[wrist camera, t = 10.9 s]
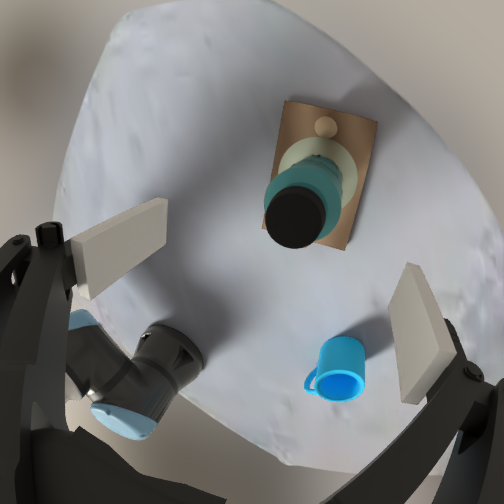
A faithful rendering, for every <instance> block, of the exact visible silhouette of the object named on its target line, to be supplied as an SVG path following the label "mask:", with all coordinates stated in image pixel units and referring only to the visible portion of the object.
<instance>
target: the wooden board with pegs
mask: <svg viewBox="0 0 504 504" xmlns="http://www.w3.org/2000/svg"><path fill="white" fill-rule="evenodd" d="M377 123H378V122H377V121H373V120H370V119H366V118H363V117H359V116H355V115H351V114H347V113H343V112H339V111H335V110H331V109H327V108H322V107H317V106H313V105H308V104H302V103H297V102H292V101H286V100H285V102H284V108H283V114H282V119H281V125H280V130H279V136H278V142H277V147H276V153H275V158H274V164H273V170H272V175H271V181H272V180H273V179H274V178H275V177H276V176H277V175H278V174H280V173H281V172H283V171H285V170H287V168H290V167H291V166H292V165H293V164H296V163H297V162H299V161H300V160H302V159H304V158H306V157H308V156H312V155H319V154H320V155H321V156H322V155H323V156H324V157H326V156H327V158H329V159H330V160H334V163H335V164H336V165H337V164H338V165H337V166H338V168H339V170H340V172H342V174H341V176H343V179H342V188H343V190H342V196H343V197H342V198H343V199H341V204H342V208H341V215H340V219H339V221H338V223H337V225H336V227H335V228H334V229H333V231H332V232H331V233H329V234H328V235H327V236H326V237H324V238H322V239H320V240H317V241H314V243H318V244H322V245H325V246H329V247H333V248H336V249H340V250H343V251H345V248H346V245H347V242H348V238H349V235H350V232H351V228H352V225H353V221H354V218H355V214H356V211H357V207H358V204H359V200H360V196H361V192H362V188H363V185H364V181H365V177H366V173H367V168H368V164H369V160H370V156H371V151H372V147H373V142H374V138H375V133H376V128H377ZM305 156H306V157H305ZM290 165H291V166H290ZM271 181H270V183H271ZM262 229H266V230H267V228H266V225H265V214H264V219H263V225H262ZM308 246H309V245H308ZM306 247H307V246H306ZM303 248H305V247H303Z"/></svg>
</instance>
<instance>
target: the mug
mask: <svg viewBox="0 0 504 504" xmlns="http://www.w3.org/2000/svg"><path fill="white" fill-rule="evenodd" d="M315 376H316V378H315V384H314V388H315V389H310V384H311V381H312V380H313V378H314V377H315ZM364 388H365V350H364V347H363V345H362V343H360V342H359V341H358V340H357V339H354V338H352V337H347V336H340V337H334V338H332V339H329V340H328V341H327V342H325V343H324V344H323V346H322V347H321V350H320V356H319V362H318V366H317V367H316V368H315V369H314V370H313V371H312V372H311V373H310V374H309V375H308V377H307V378H306V380H305V382H304V389H305V390H306V392H307V393H309V394H312V395H317V394H318V395H319V396H320V397H322V398H323V399H325V400H328V401H332V402H346V401H350V400H353V399H355V398H357V397H358V396H359V395H360V394H361V393H362V392H363V390H364Z"/></svg>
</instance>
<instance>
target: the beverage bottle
mask: <svg viewBox="0 0 504 504" xmlns="http://www.w3.org/2000/svg"><path fill="white" fill-rule="evenodd" d="M305 157H306V156H305ZM337 165H338V164H337ZM337 165H336V164H335V163H334V160H330V159H329V158H327V156H326V157H324V156H323V155H322V156H321V155H320V154H319V155H312V156H308V157H306V158H304V159H302V160H300V161H299V162H297V163H296V164H293V165H292V166H291V165H290V166H291V167H290V168H287V170H285V171H283V172H281V173H280V174H278V175H277V176H276V177H275V178H274V179H273V180H272V181H271V183H270V184H269V186H268V188H267V190H266V193H265V199H264V207H265V225H266V228H267V231H268V233H269V235H270V236H271V238H272V239H273V240H274V241H275V242H277V243H278V244H280V245H282V246H284V247H287V248H292V249H298V248H303V247H306V246H308V245H310V244H311V243H313V242H314V241H317V240H320V239H322V238H324V237H326V236H327V235H328V234H329V233H331V232H332V231H333V229H334V228H335V227H336V225H337V223H338V221H339V219H340V215H341V208H342V204H341V199H343V198H342V197H343V196H342V190H343V188H342V179H343V176H341V174H342V172H340V170H339V168H338V166H337Z"/></svg>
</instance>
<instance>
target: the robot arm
mask: <svg viewBox="0 0 504 504" xmlns="http://www.w3.org/2000/svg"><path fill="white" fill-rule="evenodd" d="M167 211H168V199H163V198H159V197H156V198H154V199H151V200H149V201H147V202H145V203H142V204H140V205H138V206H136V207H134V208H131V209H129V210H127V211H125V212H123V213H121V214H119V215H116V216H114V217H112V218H110V219H108V220H106V221H104V222H102V223H100V224H98V225H96V226H94V227H92V228H90V229H88V230H86V231H84V232H82V233H80V234H78V235H76V236H74V237H72V238H71V239H69V240H67V241H65V242H64V237H63V228H62V224H61V223H60V222H46V223H43V224H40V225H39V226H37V227H36V228H35V230H36V237H37V243H38V247H36V246H31V241H30V237H29V236H28V235H21V234H20V235H16V236H15V237H13V238H11V239H9V240H8V241H7V242H6V243H5V244H4V245H3V246H2V247H1V248H0V504H225V502H226V500H227V499H224V498H221V497H218V496H215V495H212V494H210V493H207V492H204V491H201V490H199V489H196V488H194V487H191V486H188V485H186V484H182V483H177V482H172V481H167V480H163V479H158V478H154V477H150V476H146V475H143V474H140V473H139V472H137V471H136V470H135V469H134V468H133V467H132V466H130V465H129V464H128V463H127V462H126V461H125V460H124V459H123V458H122V457H121V456H120V455H119V454H117V453H116V452H115V451H114V450H113V449H112V448H111V447H110V446H109V445H107V444H106V443H105V442H103V441H101V440H100V439H98V438H97V437H95V436H94V435H92V434H91V433H89V432H87V431H86V430H85V429H83V428H82V427H80V426H79V427H78V428H77V429H76V430H75V432H72V431H69V429H68V426H67V423H66V417H65V403H66V402H67V401H68V400H81V399H82V398H83V397H84V396H85V395H86V396H87V397H88V398H90V400H91V401H92V402H93V403H92V404H91V407H90V410H91V413H92V414H93V415H94V416H95V418H96V419H98V420H99V421H100V422H101V423H102V424H103V425H105V426H106V427H108V428H109V429H111V430H112V431H114V432H116V433H118V434H120V435H122V436H124V437H127V438H130V439H134V440H143V439H146V438H147V437H148V436H149V435H150V433H151V432H152V431H153V429H154V428H155V427H157V426H158V423H159V421H160V420H161V418H162V416H163V415H164V413H165V412H166V410H167V409H168V407H169V405H170V404H171V402H172V401H173V399H174V397H175V396H176V394H177V393H178V391H180V390H181V389H182V388H184V387H185V386H187V385H188V384H189V383H191V382H192V381H193V380H195V379H196V378H197V377H198V375H199V373H200V372H201V370H202V368H203V359H202V356H201V354H200V352H199V350H198V349H197V347H196V346H195V345H194V344H193V343H192V341H190V340H189V339H188V338H187V337H186V336H185V335H183V334H182V333H180V332H179V331H177V330H175V329H173V328H170V327H167V326H162V325H155V326H151V327H149V328H148V329H147V330H146V331H145V332H144V333H143V334H142V336H141V337H140V340H139V343H138V345H137V348H136V351H135V354H134V357H133V358H132V359H131V360H130V359H129V358H128V357H127V356H126V355H125V353H124V352H123V351H122V350H121V349H120V348H119V346H118V345H117V344H116V343H115V342H114V341H113V339H112V338H111V337H110V336H109V335H108V333H107V332H106V331H105V330H104V329H103V327H102V325H101V324H100V323H99V322H97V321H96V319H95V318H94V317H93V316H92V315H91V314H90V312H88V311H87V310H84V309H80V310H76V311H74V312H71V313H70V311H71V303H72V296H73V293H72V287H73V286H74V285H76V284H77V287H78V292H79V295H80V296H82V297H84V298H86V299H88V300H90V301H91V300H92V299H94V298H95V297H96V296H97V295H99V294H100V293H101V292H102V291H104V290H105V289H106V288H108V287H109V286H110V285H112V284H113V283H114V282H115V281H117V280H118V279H119V278H121V277H122V276H123V275H125V274H126V273H127V272H129V271H130V270H131V269H133V268H134V267H135V266H137V265H138V264H139V263H141V262H142V261H143V260H145V259H146V258H147V257H149V256H150V255H152V254H153V253H154V252H156V251H157V250H158V249H160V248H161V247H163V246H164V245H165V244H166V234H167ZM12 273H13V275H14V279H15V283H14V284H12V280H11V277H12ZM388 309H389V315H390V320H391V326H392V332H393V338H394V344H395V351H396V358H397V366H398V374H399V383H400V393H401V402H402V403H409V404H416V405H418V404H419V403H420V401H421V400H422V399H423V398H424V397H425V395H426V397H427V404H426V405H425V406H424V407H423V409H422V410H421V411H420V412H419V413H418V414H417V415H416V416H415V417H414V419H413V420H412V421H411V422H410V423H409V425H408V426H407V427H406V428H405V429H404V430H403V431H402V432H401V433H400V434H399V435H398V436H397V437H396V438H395V439H394V440H393V441H392V442H391V443H390V444H389V445H388V446H387V447H386V448H385V449H384V450H383V451H382V452H381V453H380V454H379V455H378V456H377V457H376V458H375V459H374V460H373V461H372V462H371V463H369V464H368V465H367V466H366V467H365V468H364V469H363V470H361V471H360V472H359V473H358V474H357V475H356V476H354V477H353V478H352V479H351V480H350V481H348V482H347V483H346V484H345V485H343V486H342V487H341V488H340V489H338V490H337V491H336V492H334V493H333V494H332V495H330V496H329V497H328V498H326V499H325V500H324V501H322V502H321V503H319V504H404V503H405V502H406V501H407V500H408V498H409V497H410V496H411V495H412V494H413V493H414V491H415V490H416V489H417V488H418V486H419V485H420V484H421V483H422V482H423V480H424V479H425V478H426V476H427V475H428V474H429V473H430V471H431V470H432V469H433V467H434V466H435V465H436V463H437V462H438V460H439V459H440V458H441V456H442V455H443V453H444V452H445V450H446V449H447V447H448V446H449V444H450V443H451V441H452V440H453V438H454V436H455V435H456V433H457V432H458V434H457V438H456V441H455V444H454V447H453V450H452V454H451V457H450V459H449V462H448V465H447V468H446V471H445V473H444V476H443V478H442V481H441V483H440V486H439V488H438V490H437V493H436V495H435V497H434V500H433V502H432V504H504V378H502V379H501V380H500V381H499V382H498V383H497V385H496V386H493V385H491V384H489V383H487V382H485V381H484V375H483V372H482V371H481V369H480V368H479V367H478V366H477V365H476V364H474V363H473V362H471V361H467V358H466V356H465V353H464V350H463V348H462V345H461V343H460V340H459V338H458V336H457V333H456V330H455V328H454V326H453V325H452V324H451V323H450V321H449V320H448V319H445V318H443V316H442V314H441V311H440V309H439V306H438V304H437V302H436V300H435V297H434V295H433V293H432V291H431V289H430V286H429V284H428V282H427V280H426V278H425V276H424V274H423V272H422V270H421V268H420V266H418V265H415V264H412V263H408V262H407V263H406V266H405V268H404V271H403V273H402V276H401V278H400V280H399V283H398V285H397V287H396V290H395V292H394V294H393V296H392V299H391V301H390V303H389V305H388ZM458 430H459V431H458Z"/></svg>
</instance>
